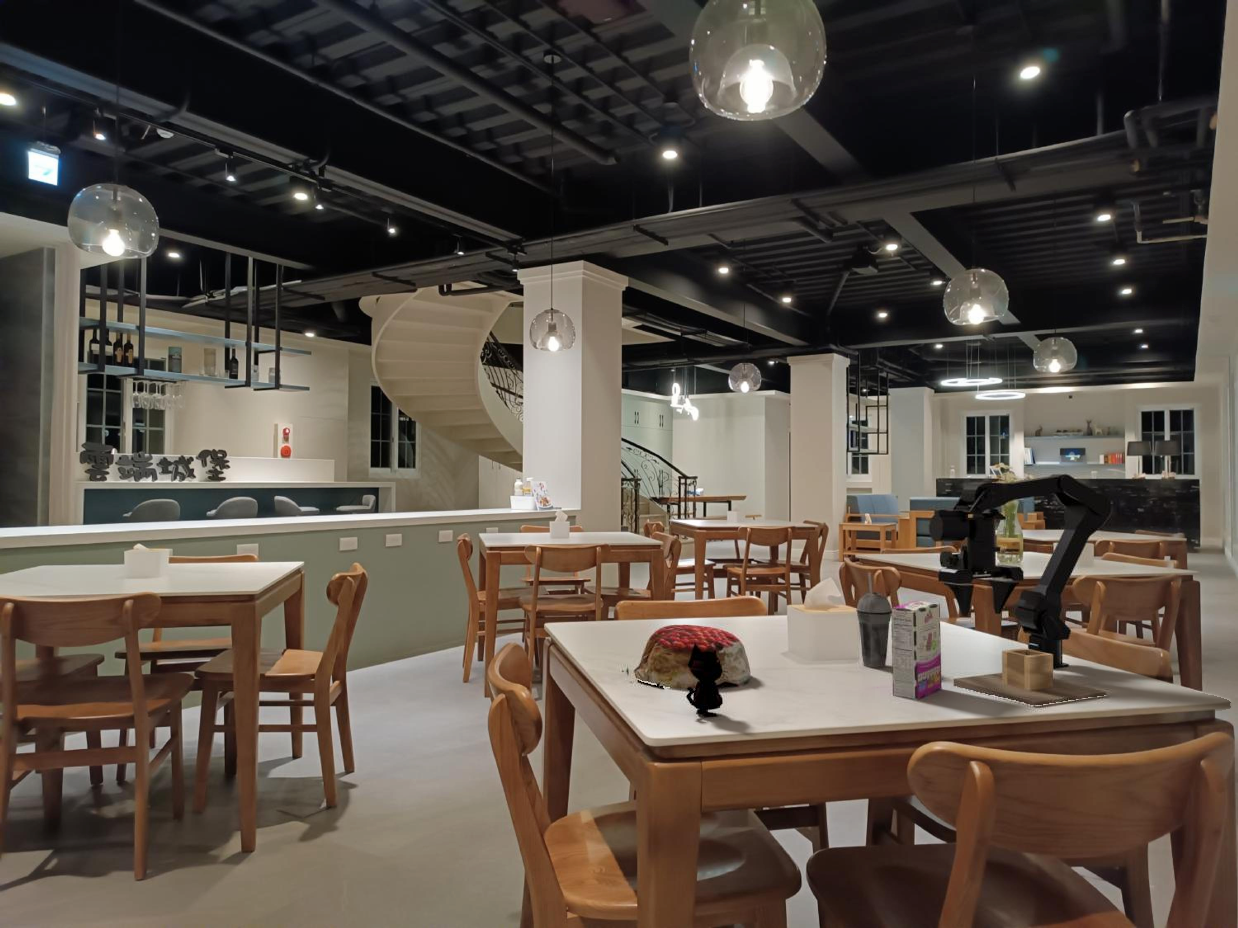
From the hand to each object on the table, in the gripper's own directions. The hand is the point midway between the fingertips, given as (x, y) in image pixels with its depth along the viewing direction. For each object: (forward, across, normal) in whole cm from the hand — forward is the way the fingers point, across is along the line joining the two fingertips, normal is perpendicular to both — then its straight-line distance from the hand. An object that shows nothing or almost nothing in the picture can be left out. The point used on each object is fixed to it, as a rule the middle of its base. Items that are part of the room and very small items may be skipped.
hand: (981, 615), depth 172 cm
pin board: (+11, +9, +19) cm, 24 cm away
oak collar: (+10, +9, +19) cm, 23 cm away
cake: (+12, +61, -16) cm, 64 cm away
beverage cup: (+11, +20, -10) cm, 25 cm away
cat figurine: (+11, +72, +10) cm, 74 cm away
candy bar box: (+11, +28, +11) cm, 32 cm away
